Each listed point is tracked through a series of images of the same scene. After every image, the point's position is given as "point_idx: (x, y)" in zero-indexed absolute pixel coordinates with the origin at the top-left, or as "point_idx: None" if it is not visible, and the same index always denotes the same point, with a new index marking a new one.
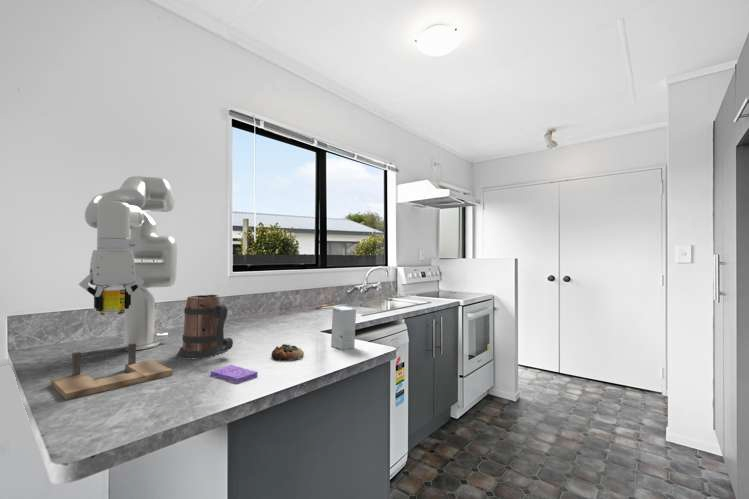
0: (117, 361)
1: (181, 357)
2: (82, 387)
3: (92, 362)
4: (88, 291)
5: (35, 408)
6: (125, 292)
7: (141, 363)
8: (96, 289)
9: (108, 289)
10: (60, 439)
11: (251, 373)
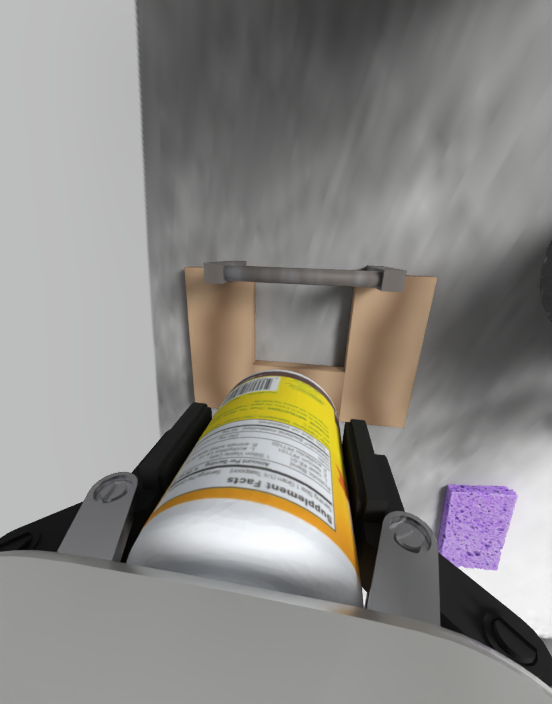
0: (390, 125)
1: (543, 276)
2: (223, 394)
3: (329, 53)
4: (38, 530)
5: (160, 401)
6: (363, 569)
7: (392, 302)
8: (88, 550)
9: None
10: None
11: (480, 566)
